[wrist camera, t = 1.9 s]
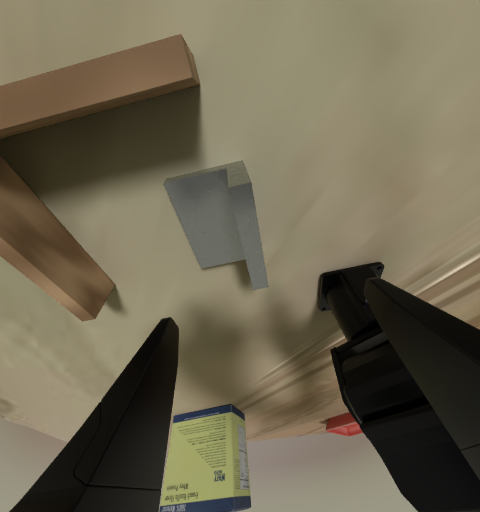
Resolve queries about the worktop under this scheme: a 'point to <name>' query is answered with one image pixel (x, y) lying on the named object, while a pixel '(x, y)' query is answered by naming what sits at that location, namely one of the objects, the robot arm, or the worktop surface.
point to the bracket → (220, 217)
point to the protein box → (207, 463)
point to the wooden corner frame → (59, 110)
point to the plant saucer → (343, 425)
